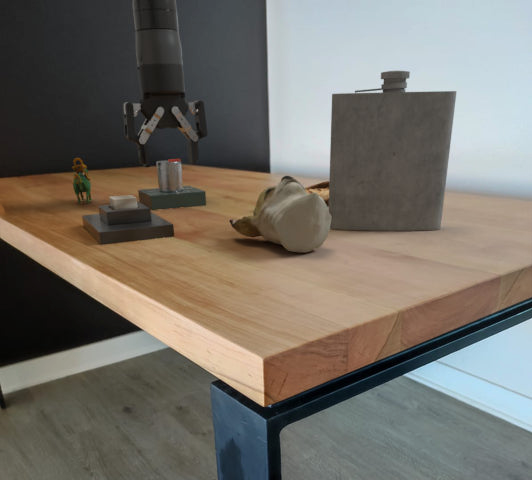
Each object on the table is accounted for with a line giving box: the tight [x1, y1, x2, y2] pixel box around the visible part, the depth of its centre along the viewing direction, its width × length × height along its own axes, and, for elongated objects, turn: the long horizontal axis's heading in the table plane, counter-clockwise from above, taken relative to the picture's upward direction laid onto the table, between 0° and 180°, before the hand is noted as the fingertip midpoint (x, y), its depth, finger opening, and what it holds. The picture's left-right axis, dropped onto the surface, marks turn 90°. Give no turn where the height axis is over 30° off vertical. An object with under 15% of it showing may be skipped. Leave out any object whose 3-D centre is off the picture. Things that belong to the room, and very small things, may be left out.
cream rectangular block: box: [108, 194, 138, 210], centre depth 77 cm, size 3×3×2 cm
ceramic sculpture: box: [228, 175, 331, 254], centre depth 68 cm, size 11×9×15 cm
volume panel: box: [137, 185, 207, 211], centre depth 100 cm, size 10×9×3 cm
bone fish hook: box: [304, 180, 329, 206], centre depth 96 cm, size 9×5×18 cm
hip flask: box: [328, 70, 457, 232], centre depth 74 cm, size 16×4×20 cm, turn 83°
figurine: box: [71, 157, 94, 204], centre depth 102 cm, size 3×12×8 cm, turn 7°
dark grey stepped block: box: [81, 201, 175, 246], centre depth 78 cm, size 10×14×4 cm
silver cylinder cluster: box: [155, 158, 184, 192], centre depth 98 cm, size 4×4×5 cm
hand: (169, 165), depth 97 cm, fingers open, 8 cm apart
